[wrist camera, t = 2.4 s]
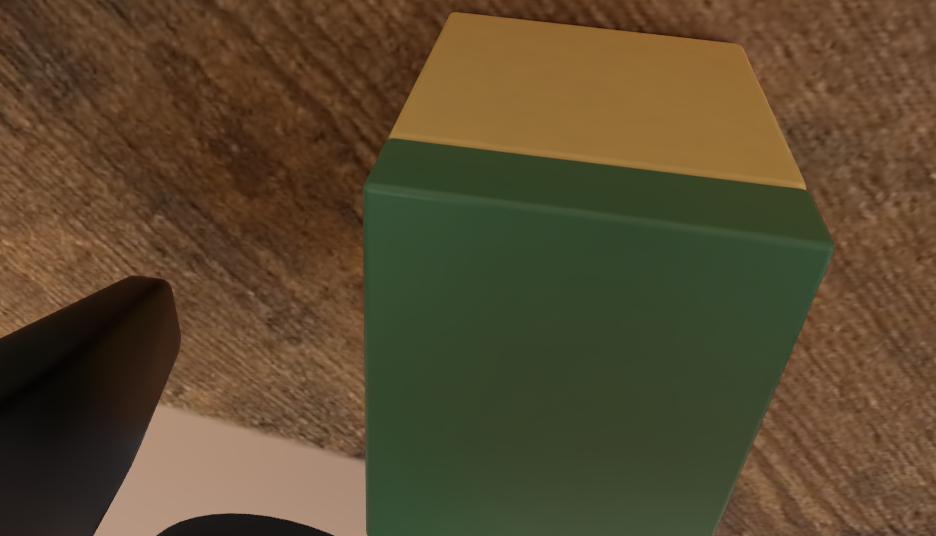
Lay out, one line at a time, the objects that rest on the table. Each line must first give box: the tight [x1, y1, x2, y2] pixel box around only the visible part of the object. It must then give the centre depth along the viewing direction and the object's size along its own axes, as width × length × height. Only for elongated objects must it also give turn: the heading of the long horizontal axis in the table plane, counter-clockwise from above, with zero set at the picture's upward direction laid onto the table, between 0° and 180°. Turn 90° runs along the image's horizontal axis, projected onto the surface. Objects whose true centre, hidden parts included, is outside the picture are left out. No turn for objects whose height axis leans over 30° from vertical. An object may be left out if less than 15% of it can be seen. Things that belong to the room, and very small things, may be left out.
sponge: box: [363, 12, 834, 536], centre depth 10 cm, size 5×4×5 cm
